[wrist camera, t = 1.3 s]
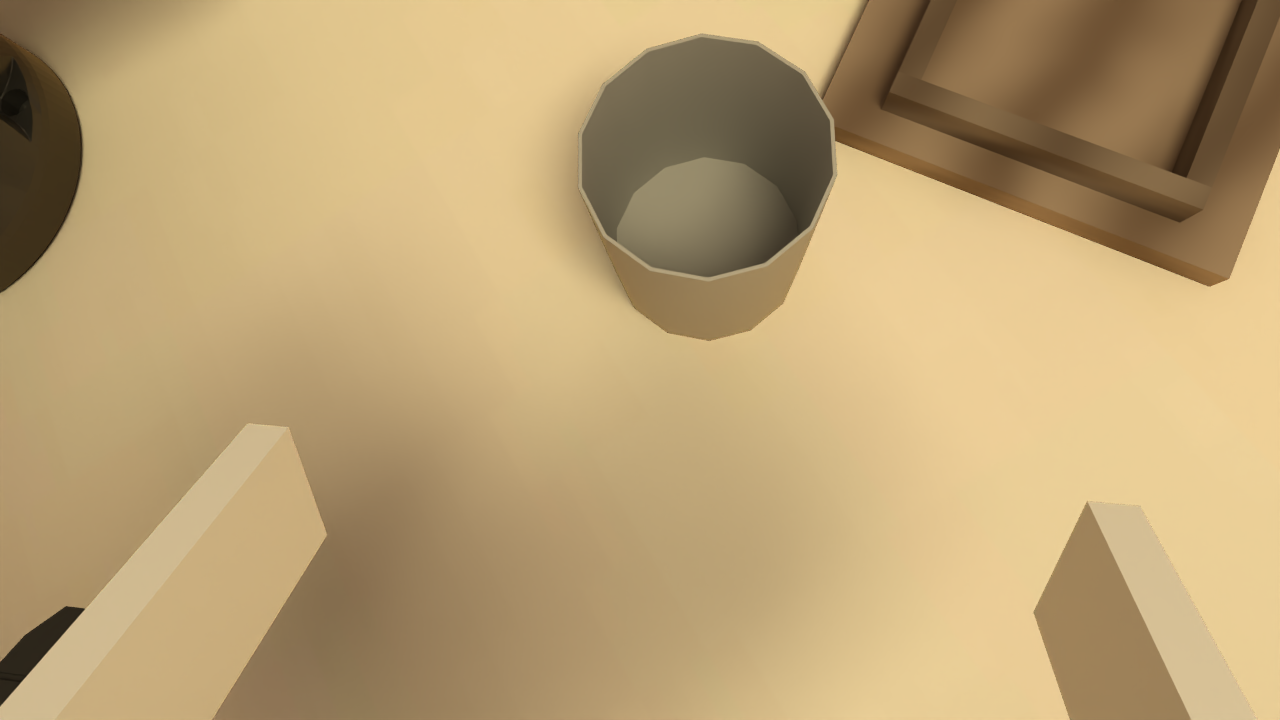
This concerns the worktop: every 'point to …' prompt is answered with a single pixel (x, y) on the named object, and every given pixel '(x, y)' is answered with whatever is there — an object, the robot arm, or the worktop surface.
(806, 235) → the cup
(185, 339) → the worktop surface
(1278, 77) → the brown wooden tray
